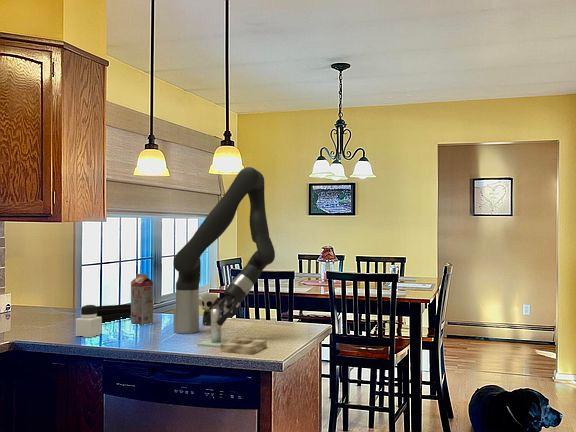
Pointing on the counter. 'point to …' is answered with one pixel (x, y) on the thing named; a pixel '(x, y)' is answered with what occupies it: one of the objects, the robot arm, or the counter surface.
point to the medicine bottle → (88, 322)
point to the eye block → (243, 346)
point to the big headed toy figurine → (207, 304)
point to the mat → (209, 343)
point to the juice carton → (141, 300)
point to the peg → (215, 325)
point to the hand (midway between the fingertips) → (212, 322)
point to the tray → (114, 312)
